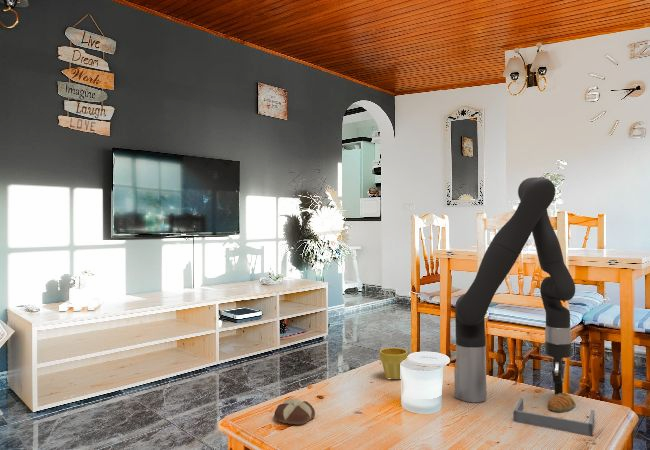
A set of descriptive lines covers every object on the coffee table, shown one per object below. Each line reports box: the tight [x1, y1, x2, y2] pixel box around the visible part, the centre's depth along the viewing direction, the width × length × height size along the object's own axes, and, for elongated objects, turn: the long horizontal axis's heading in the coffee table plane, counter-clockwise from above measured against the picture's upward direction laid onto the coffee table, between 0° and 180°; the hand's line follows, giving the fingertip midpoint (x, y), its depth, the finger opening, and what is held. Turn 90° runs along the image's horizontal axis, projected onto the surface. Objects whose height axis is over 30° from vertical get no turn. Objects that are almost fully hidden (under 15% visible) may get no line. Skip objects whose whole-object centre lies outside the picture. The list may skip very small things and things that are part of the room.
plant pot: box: [379, 347, 409, 380], centre depth 178 cm, size 10×10×10 cm
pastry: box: [547, 392, 577, 413], centre depth 147 cm, size 9×7×4 cm
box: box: [512, 398, 595, 437], centre depth 138 cm, size 20×11×3 cm, turn 58°
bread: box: [273, 398, 316, 425], centre depth 143 cm, size 11×11×5 cm
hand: (558, 394), depth 154 cm, fingers closed
